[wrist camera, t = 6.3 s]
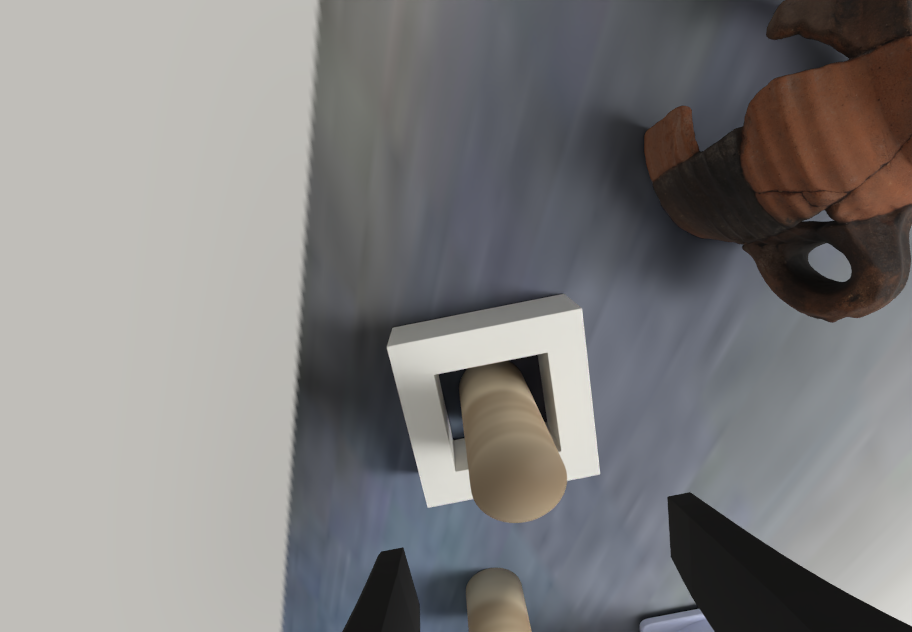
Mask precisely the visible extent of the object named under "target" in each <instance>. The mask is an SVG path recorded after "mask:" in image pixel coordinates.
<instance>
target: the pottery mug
mask: <svg viewBox="0 0 912 632" xmlns="http://www.w3.org/2000/svg"><path fill="white" fill-rule="evenodd" d="M797 34H799V35H801V36H802V37H804V38H807V39H814V40H817V41H820V42H822V43H825V44H827V45H830V46H832V47H833V48H834V49H836V50H837V51H838V52H841V53H842V54H844V55H845V56H846V57H848V58H849V60H848V61H844V62H836V63H831V64H828V65H825V66H823V67H819V68H815V69H810V70H806V71H802V72H799V73H795V74H790V75H785V76H781V77H778V78H775V79H773V80H772V81H771V82H770V83H769V84H768V85H767V86H766V87H764V88H763V89H762V90H760V91H759V92H758V93H757V94H756V95H755V97H754V98H753V99H752V100H751V102H750V103H749V105H748V108H747V112H746V115H745V121H744V126H743V127H740V128H736V129H734V130H733V131H731V132H730V133H728V134H727V135H726V136H725V137H723V138H722V139H721V140H719V141H718V142H716V143H715V144H713V145H712V146H710V147H708V148H707V149H706V150H704V151H702V152H700V151H699V147H698V144H697V142H696V140H695V133H694V130H693V122H692V110H691V108H690V107H687V106H680V107H677V108H675V109H674V110H672V111H671V112H669V113H668V114H667V115H666V117H665V118H663V119H662V120H661V121H659V122H657V123H656V124H655V125H654V126H652V127H651V128H650V129H648V130H647V131H646V133H645V136H644V153H645V158H646V165H647V169H648V171H649V175H650V178H651V180H652V182H653V188H654V190H655V192H656V194H657V196H658V198H659V200H660V202H661V206H662V207H663V209H664V210H665V211H666V212H667V213H668V214H669V216H670V217H671V219H672V220H673V222H675V223H676V224H677V225H678V226H679V227H680V228H681V229H683V230H685V231H687V232H689V233H691V234H692V235H695V236H697V237H700V238H706V239H716V240H721V241H726V242H735V243H738V244H744V245H743V246H742V249H743V250H744V251H746V252H747V253H748V254H750V255H751V256H752V258H753V259H754V261H755V262H756V265H757V267H758V269H759V271H760V273H761V275H762V277H763V278H764V280H765V282H766V283H767V285H768V286H769V287H770V288H771V290H772V291H773V292H774V293H775V294H776V295H777V296H778V297H779V298H780V299H782V300H783V301H784V302H786V303H787V304H788V305H790V306H791V307H793V308H794V309H796V310H797V311H799V312H801V313H804V314H806V315H808V316H810V317H814V318H817V319H823V320H825V321H828V322H836V321H837V320H839V319H842V318H845V317H853V318H860V317H863V316H866V315H868V314H871V313H873V312H875V311H877V310H879V309H881V308H883V307H884V306H886V305H887V304H889V303H890V302H891V301H892V300H893V299H894V298H896V297H897V296H898V295H899V293H900V292H901V291H902V290H903V288H904V287H905V285H906V282H907V280H908V276H909V272H910V264H911V255H910V245H909V231H910V228H911V225H912V0H785V1H783V2H782V3H781V4H780V5H779V7H778V8H777V9H776V11H775V13H774V15H773V17H772V19H771V21H770V22H769V24H768V27H767V32H766V35H767V37H768V38H769V39H772V40H777V39H783V38H787V37H791V36H794V35H797ZM823 210H825V211H826V212H827V214H828V215H829V217H830V218H831V219H833V220H835V221H829V222H818V221H807V222H802V221H804V220H807V219H810V218H812V217H813V216H815V215H817V214H819V213H820V212H821V211H823ZM825 243H829V244H831V245H832V246H833V247H835V248H836V249H837V250H839V251H840V252H842V253H843V254H844V255H845V256H846V258H847V259H848V261H849V263H850V265H851V269H852V274H851V278H850V279H849V280H847V281H846V282H838V281H834V280H831V279H828V278H826V277H824V276H822V275H821V274H820V273H818V272H817V271H815V270H814V269H813V268H812V267H811V266H810V264H809V262H808V254H809V253H810V251H811V250H813V249H814V248H815V247H817V246H820V245H822V244H825Z"/></svg>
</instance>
